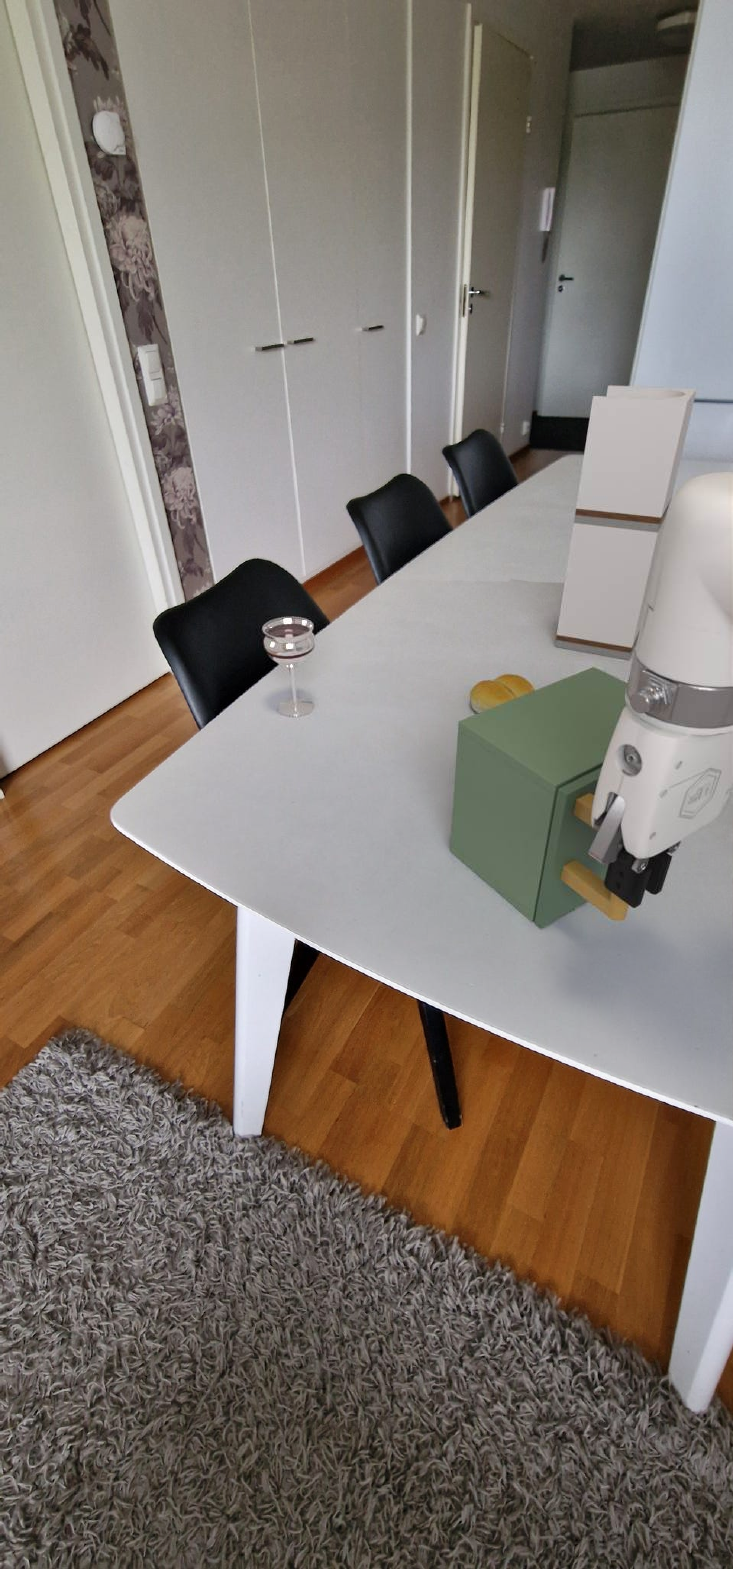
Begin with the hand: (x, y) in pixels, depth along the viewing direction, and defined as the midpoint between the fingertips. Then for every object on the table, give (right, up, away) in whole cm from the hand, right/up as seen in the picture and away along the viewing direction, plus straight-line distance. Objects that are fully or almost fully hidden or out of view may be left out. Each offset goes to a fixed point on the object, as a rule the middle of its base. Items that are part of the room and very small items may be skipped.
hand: (631, 888), depth 56 cm
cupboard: (-2, +1, +18) cm, 18 cm away
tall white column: (+16, +31, +57) cm, 67 cm away
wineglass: (-31, +19, +42) cm, 56 cm away
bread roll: (-2, +19, +41) cm, 46 cm away
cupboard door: (+4, -3, +11) cm, 12 cm away
